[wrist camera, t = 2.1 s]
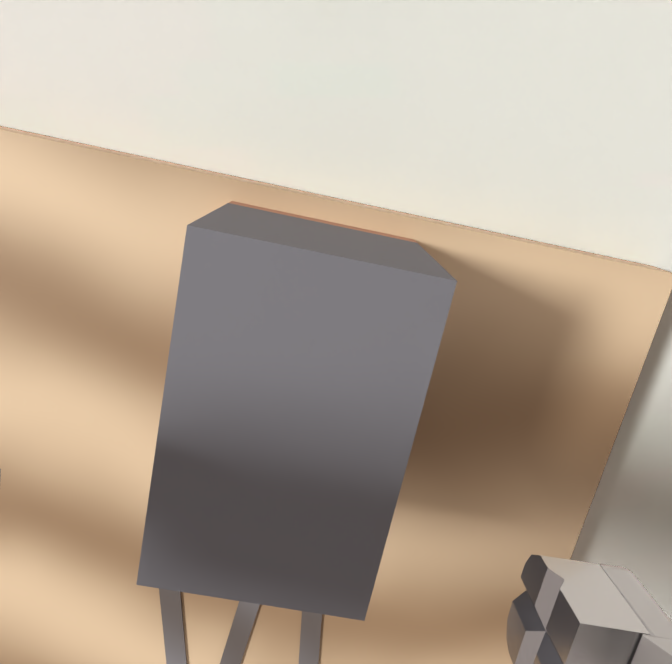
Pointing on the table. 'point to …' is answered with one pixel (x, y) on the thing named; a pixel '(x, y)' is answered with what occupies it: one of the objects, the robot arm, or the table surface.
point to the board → (146, 400)
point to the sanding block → (289, 408)
